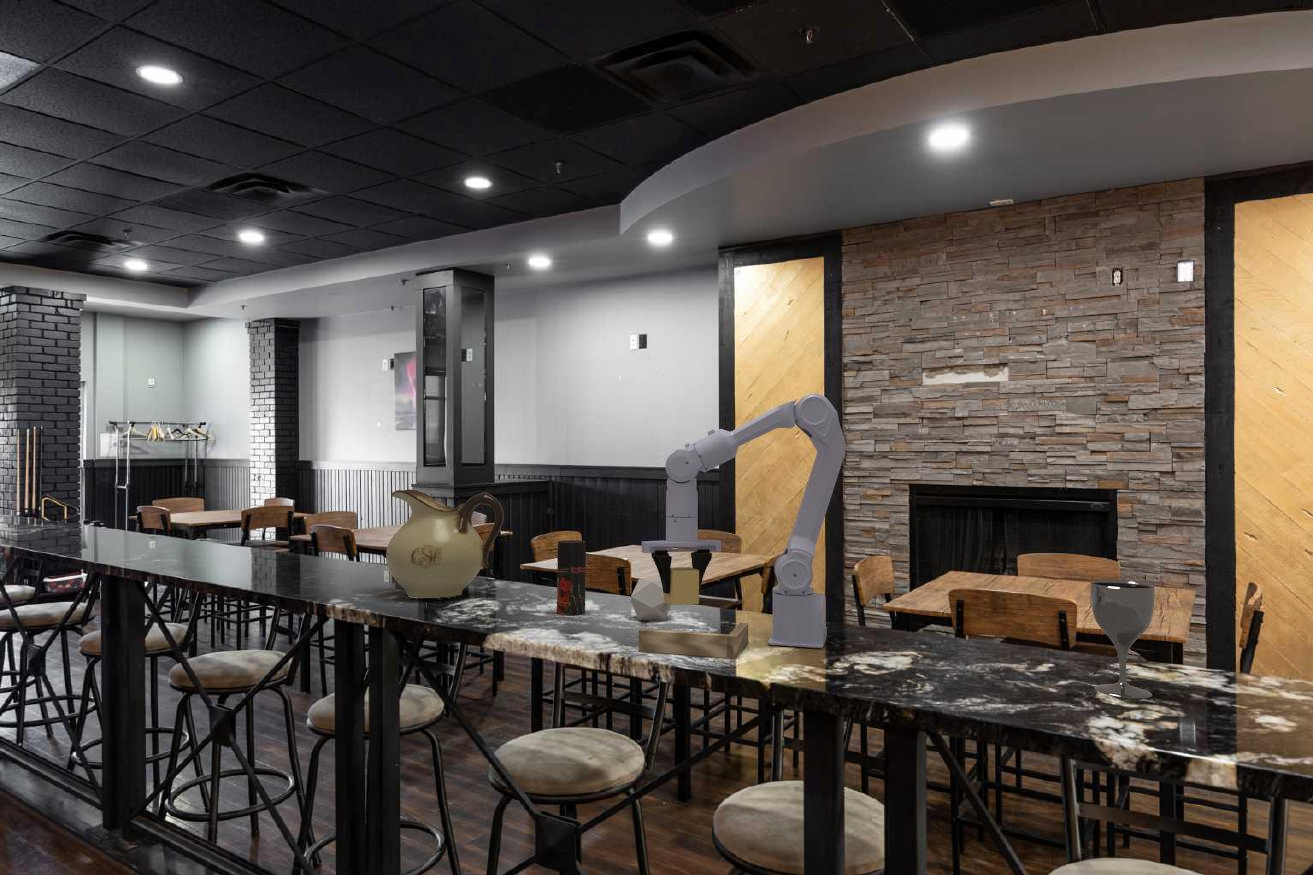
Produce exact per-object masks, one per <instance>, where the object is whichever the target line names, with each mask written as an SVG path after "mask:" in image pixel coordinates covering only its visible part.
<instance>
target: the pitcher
mask: <svg viewBox="0 0 1313 875" xmlns="http://www.w3.org/2000/svg"><path fill="white" fill-rule="evenodd" d="M391 497H393V498H396V499H398V500H399V499H400V500H402V501H404V502H405V503H407V505H409V507H410V511H411V513H410V516H409V518H408V519H407V521H405V523H404V524H403V525H402V526H401V527H400V528H399V529H398V530H397V531H396V532H395V534H394V535H393V536H392V537H391V539H390V541H389V543H388V545H387V546H386V547H387V548H386V553H385V558H386V559H385V560H386V564H387V568H388V570H389V572H390V573H391V575H392V577H393V578H394V580H395V581H396V582H397V583H398V585H399V586H400V587H401V588H402V589H404V590H405V593H406V596H407V595H409V596H411V597H419V598H440V597H450V596H456V595H460V596H462V595H463V591H464V589H465V588H466V587H468V585H470V584H471V583H472V581H474V579H475V578H476V577H477V575H478V574H479V572H480V570H481V568H482V567H483V568H485V569H488V568H489V561H488V560H489V555H490V551H491V550H490V549H491V547H492V545H493V543H494V541H495V540H496V538H497V536H498V535H499V533H500V531H501V529H502V526H503V524H504V520H505V514H504V513H505V512H504V509H503V507H502V505H501V503H500V501H499V500H498V499H497V498H496V497H494V496H493V495H492V494H491V493H489V492H487V491H483V492H480V493H478V494H476V495H473V496H472V497H469V499H468V500H466V502H465V503H461V504H459V505H458V506H457V507H452V506H449V505H446V504H444V503H443V502H441V501H439V500H437V499H436V498H434V497H433V496H432V495H431V496H430V495H429V494H427V493H425V492H422V491H419V490H415V489H412V488H411V489H409V488H408V489H403V490H402V489H399V490H398V489H397V490H395V491H393V492H392V493H391ZM479 505H484V506H489V507H491V508H492V509H493V512H494V516H495V517H494V518H495V520H494V524H493V525H492V526H493V527H492V528H491V531H490V533H489V535H488V537H487V538H486V540H485V542H484V543H483V541H482V539H481V538H482V537H480V535H479V533H478V532H477V530H475V528H474V527H473V523H472V516H473V514H474V511H475V509H476V508H477V507H479Z"/></svg>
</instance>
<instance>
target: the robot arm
mask: <svg viewBox="0 0 1313 875" xmlns="http://www.w3.org/2000/svg"><path fill="white" fill-rule="evenodd" d="M797 401H798V402H797ZM795 427H797V429H800V431H802V432H803V433H804V434H805V435H806V436H807V437H808V438H809V440H810V442H811V443H812V445H813V448H814V449H815V450H816V455H815V458H814V461H813V465H812V468H811V471H810V473H809V477H808V481H807V484H806V486H805V490H804V493H803V495H802V496H803V497H802V499H801V503H800V505H799V508H798V511H797V514H796V517H795V521H794V524H793V527H792V531H791V533H790V535H789V538H788V541H787V543H786V546H785V548H784V550H783V552H782V553H781V554H780V555H779V556H778V557H777V558H776V560H775V562H774V567H773V568H774V569H773V570H774V574H775V577H776V581H777V584H776V586H774V587H772V635H771V636H770V638H769V639H768V641H767V645H769V646H770V645H771V646H783V647H784V646H786V647H799V648H813V649H823V648H824V645H825V643H826V640H827V636H828V634H827V633H828V627H827V626H826V625H827V623H826V622H827V620H826V619H827V618H826V614H827V612H826V608H827V607H826V606H827V603H826V601H827V600H826V594H825V593H816V592H814V590H815V589H814V588H813V587H811V584H812V582H813V580H814V569H813V562H814V558H815V555H816V554H815V553H816V547H817V542H818V538H819V536H820V533H821V529H822V527H823V523H824V520H825V517H826V514H827V511H828V507H829V505H830V504H829V503H830V501H831V499H832V495H833V493H834V492H833V491H834V489H835V485H836V483H837V480H838V476H839V474H840V471H841V468H842V464H843V460H844V458H845V454H846V450H847V445H846V442H845V438H844V434H843V431H842V427H841V424H840V420H839V414H838V411H837V410H836V408H835V406H833V404H832V403H831V401H830V400H829V399H828V398H827V397H826V396H824V395H822V394H820V393H815V392H813V393H808V394H806V395H804V396H802V397H801V398H800V399H799V400H798V399H794V400H790V401H787V402H785V403H783V404H780V405H777V406H775V407H773V408H771V409H770V410H768V411H765V412H764V413H762V414H760V415H759V416H756V417H755V418H753V419H752V420H749V421H748V422H746V423H745V424H743V425H741V426H739V427H737V428H736V429H734V430H731V431H729V430H725V429H723V428H719V429H717V430H715V429H714V428H713V429H710V430H707V435H706V436H704V437H702V438H700V439H698V440H696V441H695V442H693V443H691V444H690V442H687V443H685V444H684V445H683V446H684V447H685V449H683V448H681V449H680V448H678V449H675V451H673V452H672V453H671V454H669V456H668V457H667V459H666V461H665V466H664V467H665V472H666V474H667V476H668V477H667V480H666V487H667V490H666V492H665V495H666V496H665V498H666V499H665V518H666V519H665V540H663V539H662V540H648V541H647V540H646V541H645V540H644V541H643V540H642V541H641V553H643V554H650V555H651V557H652V558H651V559H652V561H653V563H654V564H655V566H656V569H657V573H658V575H659V579H661V583H662V588H663V592H664V593H666V594H670V569H671V568H672V559H673V557H672V556H671V555H670V553H679V552H680V553H682V552H683V553H684V552H687V553H689V552H690V557H691V566H692V567H691V568H694V569H697V570H699V593H700V592H701V587H702V583H703V579H704V576H705V572H706V570H707V568H708V566H709V564H710V562H711V560H712V558H713V553H712V552H722V541H721V540H718V539H698V538H699V537H698V536H699V535H698V533H699V532H698V530H699V527H698V524H699V523H698V520H699V519H698V518H699V516H698V515H699V514H698V512H699V510H698V508H699V506H698V505H699V504H698V503H699V500H698V499H699V495H698V494H699V492H698V490H697V478H696V477H697V476H698V474H699V472H703V473H707V472H708V471H711V470H713V469H714V468H716V467H718V466H721V465H722V464H724V463H727V461H730V460H732V459H734V458H735V457H736V456H737V452H738V449H739V447H740V446H742V445H745V444H747V443H749V442H751V441H753V440H755V439H757V438H760V437H762V436H764V435H766V434H768V433H770V432H772V431H774V430H777V429H793V428H795Z"/></svg>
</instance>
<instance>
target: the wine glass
mask: <svg viewBox="0 0 1313 875" xmlns="http://www.w3.org/2000/svg"><path fill="white" fill-rule="evenodd" d="M1089 585H1090V586H1089V589H1090V590H1089V593H1090V595H1089V596H1090V605H1091V609H1092V614H1093V618H1094V620H1095V622H1096V623H1097V625H1098V627H1100V629H1101V630H1102V631H1103V633H1104V634H1106V635H1107V637H1108V638H1109V640H1110V641H1111V642H1112V644H1113V645H1114V647H1115V649H1116V653H1117V658H1118V664H1119V665H1118V666H1119V680H1118V681H1117V682H1115V683H1107V684H1106V683H1104V684H1103V683H1102V684H1097V685H1095V686H1094V690H1096V691H1097V692H1099V693H1101V694H1104V695H1108V696H1112V697H1119V698H1124V699H1125V698H1126V699H1148V698H1152V697H1153V693H1152V692H1151V691H1148V690H1147V689H1143V688H1141V687H1137V686H1133V685H1130V683H1128V681H1127V662H1128V661H1127V660H1128V655H1129V654H1128V653H1129V652H1130V651H1129V650H1131V649H1130V648H1131V647H1132V645H1133V644H1134V643H1135V642H1136V640H1138V639H1139V638H1140V637H1141V635H1143V634H1144V633H1145V632H1146V631H1147V630H1148V629H1149V628H1150V625H1151V623H1152V619H1153V617H1154V616H1153V615H1154V610H1155V601H1156V597H1155V596H1156V592H1155V591H1156V590H1155V589H1156V588H1155V585H1153V584H1149V583H1144V582H1136V581H1126V580H1113V579H1112V580H1110V579H1109V580H1108V579H1107V580H1102V579H1101V580H1100V579H1099V580H1092V581H1090V584H1089Z"/></svg>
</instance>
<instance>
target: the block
mask: <svg viewBox="0 0 1313 875" xmlns="http://www.w3.org/2000/svg"><path fill="white" fill-rule="evenodd" d="M664 601H665V602H667V603H669V604H671V606H682V605H683V606H684V605H685V606H688V605H689V606H690V605H699V604H700V602H699V601H700V592H699V570H697V569H694V568H692V567H691V566H687V567H685V566H684V567H683V566H681V567H671V569H670V594H666V593H664Z"/></svg>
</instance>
